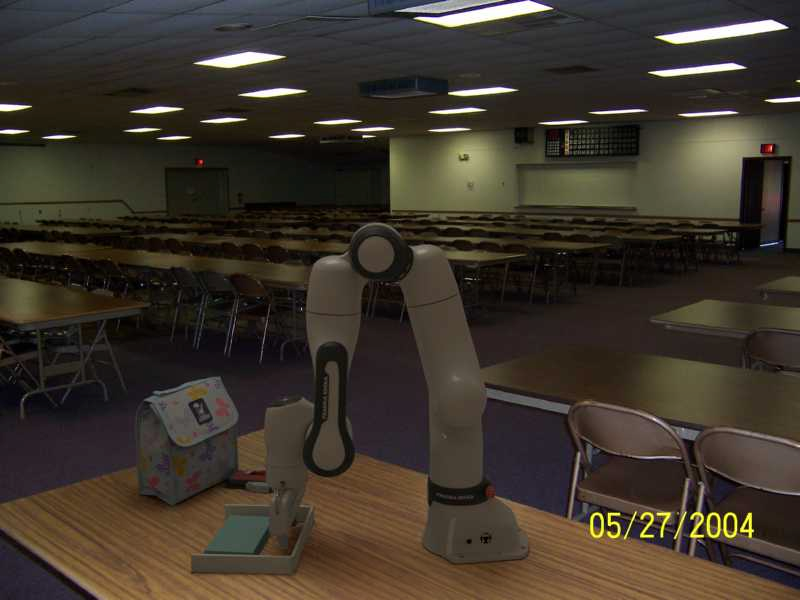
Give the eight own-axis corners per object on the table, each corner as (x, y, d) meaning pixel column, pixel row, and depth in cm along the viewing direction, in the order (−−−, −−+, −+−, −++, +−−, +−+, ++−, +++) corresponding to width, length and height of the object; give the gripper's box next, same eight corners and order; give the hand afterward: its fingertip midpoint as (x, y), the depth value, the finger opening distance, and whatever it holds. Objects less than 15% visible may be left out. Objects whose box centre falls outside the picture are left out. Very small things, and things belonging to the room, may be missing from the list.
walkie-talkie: (221, 492, 178) (299, 496, 176) (220, 475, 178) (299, 479, 175) (233, 478, 187) (308, 482, 185) (232, 462, 186) (307, 465, 184)
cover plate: (274, 529, 159) (273, 517, 159) (253, 566, 143) (252, 552, 143) (230, 527, 160) (229, 515, 160) (204, 564, 144) (204, 550, 144)
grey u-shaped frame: (314, 520, 162) (313, 505, 162) (294, 574, 139) (293, 557, 139) (225, 518, 163) (225, 504, 163) (191, 571, 140) (190, 555, 140)
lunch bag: (178, 511, 167) (172, 401, 163) (131, 495, 176) (125, 390, 172) (247, 478, 186) (243, 379, 182) (201, 465, 195) (197, 371, 191)
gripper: (292, 494, 138) (293, 561, 140) (310, 455, 159) (311, 514, 161) (259, 493, 139) (261, 560, 141) (282, 455, 159) (283, 514, 161)
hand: (288, 535), depth 151 cm, fingers open, 8 cm apart
